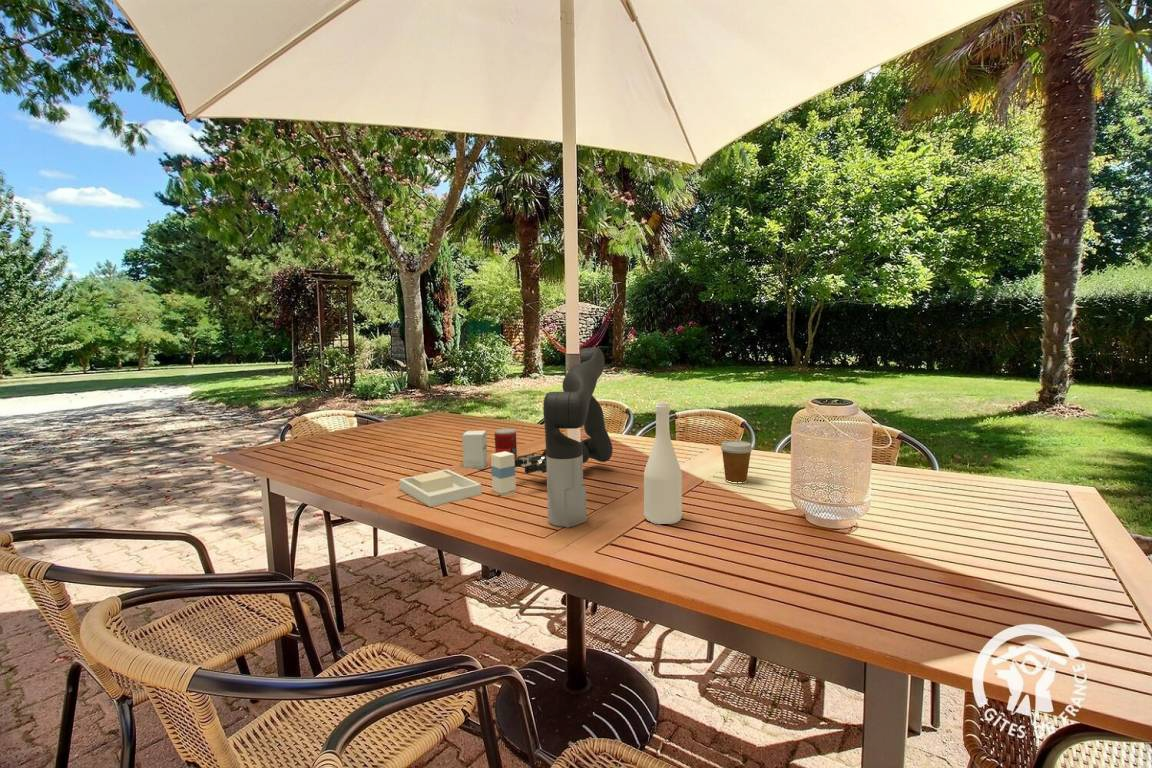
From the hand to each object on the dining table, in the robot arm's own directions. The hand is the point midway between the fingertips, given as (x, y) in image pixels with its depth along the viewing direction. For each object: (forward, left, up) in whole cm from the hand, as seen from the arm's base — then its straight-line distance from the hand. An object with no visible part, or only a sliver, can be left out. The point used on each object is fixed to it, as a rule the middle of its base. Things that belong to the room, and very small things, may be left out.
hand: (517, 467), depth 161 cm
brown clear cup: (-40, -55, -7) cm, 68 cm away
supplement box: (+32, -3, -7) cm, 33 cm away
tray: (+12, +20, -7) cm, 24 cm away
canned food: (+34, -17, -7) cm, 39 cm away
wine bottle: (-46, -14, -7) cm, 49 cm away
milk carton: (0, +5, -7) cm, 9 cm away
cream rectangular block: (+17, +20, -6) cm, 27 cm away
